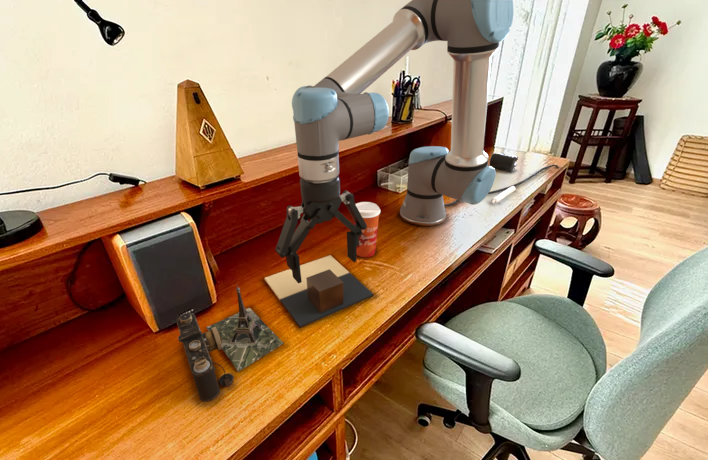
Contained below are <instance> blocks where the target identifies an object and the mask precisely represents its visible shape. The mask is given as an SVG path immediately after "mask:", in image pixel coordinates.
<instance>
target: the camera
mask: <svg viewBox="0 0 708 460" xmlns="http://www.w3.org/2000/svg"><path fill="white" fill-rule="evenodd" d="M176 325H177V328H178V332H179V335H178V336H177V339H178V342H179V343H182V346H183V349H184V353H185V356H186V359H187V362H188V365H189V369H190V372H191V375H192V378H193V381H194V384H195V387H196V390H197V394H198V398H199V399H200V401H201V402H205V403H206V402H212V401H213V400H215V399H216V398H218V396H219V395H220V392H221V389H220V386H221V387H222V388H227V387H229V386H231V385H232V384H233V383H234V379H235V378H234V375H233V374H232V373H230V372H229V373H226V370H225V367H223V366H222V365H221V364H220V363H219V364H218V363H216V362H214V361H213V359H212V358H211V355H210V353H211V352H213V351H216V350H217V352H218V351H221V350H223V349H222V339H221V336H219V335H220V333H219V331H217V329H216V327H213V328H211V330H210V331H208V330H207V331H205V332H202V330H201V327H200V325H199V322H198V319H197V317H196V315H195V314H194V313H193V312H185V313H182V314H181V315H178V317H177V318H176ZM214 365H217V366H219V367H220V368H221V369H222V370H223V373H224V374H222V375H221V376H219V378H218V379H217V375H216V368H215V366H214Z"/></svg>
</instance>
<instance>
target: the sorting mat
mask: <svg viewBox="0 0 708 460" xmlns="http://www.w3.org/2000/svg"><path fill="white" fill-rule="evenodd" d="M329 269H330V270H331V271H332V272H333V273H334V274H335V275H336V276H337V277H338V278H339V279H340V280H341V281H342V282H343V295H344V304H341V305H339V306H337V307H334V308H332V309H330V310H327V311H325V312H323V313H320V312H319V311H318V310H317V309H316V308H315V306H314V305H313V304H312V303H311V302H310V300H309V299H308V292H307V279H306V278H307V277H310V276H312V275H315V274H318V273H321V272H323V271H326V270H329ZM300 271H301V281H302V282H301V283H297V281H296V280H295V279H294V278H293V275H292V270H291V269H290V268H288V269H286V270H283V271H280V272H276V273H274V274H271V275H268V276H266V277H264V278H263V279H264V281H265V283H266V284H267V285H268V286H269V288H270V289H271V291H272V292H273V294H274V295H275V296H276V297H277V299H278V300H279V302H280V303H281V304H282V306H283V307H284V308H285V310H286V311H287V312H288V313H289V315H290V316H291V318H292V319H293V320H294V322H295V323H296V324H297V326H298V327H299V328H300V329H301V328H304V327H305V326H307V325H310V324H312V323H315V322H317V321H319V320H321V319H323V318H326V317H328V316H330V315H333V314H335V313H337V312H339V311H342V310H344V309H346V308H348V307H351V306H354V305H356V304H359V303H360V302H362V301H365V300H367V299H370V298H371V297H374V292H372V291H371V290H370V289H368V288H367V287H366V286H365V285H364V284H363V283H362V282H361V281H360V280H359V279H357V278H356V277H355V276H354V275H353V274H352V273H351V272H350V271H348V269H346V268H345V267H344V266H343V265H342V264H341V263H339V261H338V260H336V259H335V258H334V257H333V256H332V255H331V254H330V255H326V256H323V257H321V258H318V259H315V260H312V261H309V262H306V263H304V264H300Z"/></svg>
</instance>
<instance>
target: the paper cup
mask: <svg viewBox="0 0 708 460" xmlns="http://www.w3.org/2000/svg"><path fill="white" fill-rule="evenodd" d="M355 205H356V207H357V208H358V210H359V212H360V214H361V216H362V218H363V219H364V221H365V223H366V225H367V228H366V229H365V230H361V231H362V235H361V236H359V245H358V246H356V250H357V256H358V257H359V258H370V257H373V256H375V253H376V250H377V249H376V247H377V239H378V231H379V229H378V227H379V218H380V215H381V208H380V207H379V205H378V204H377V203H374V202H371V201H360V202H357V203H355ZM352 224H354V225H355V224H356V223H355V221H354V219H353V218H352Z"/></svg>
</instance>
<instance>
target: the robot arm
mask: <svg viewBox="0 0 708 460" xmlns="http://www.w3.org/2000/svg"><path fill="white" fill-rule="evenodd" d="M513 19H514V0H410V1H409V2H408V3H406V4H405V5H403V7H401V8H400V9H399V10H397V11H396V12H395V13H394V15H393V18H392V21H391V22H390V23H389V24H388V25H387V26H385V27H384V28H383V29H382V30H380V31H379V32H378V33H377V34H376V35H374V36H373V37H372V38H371V39H369V40H368V41H367V42H366V43H364V44H363V45H362V46H361V47H360V48H359V49H357V50H356V51H355V52H354V53H353V54H352V55H350V56H349V57H348V58H347V59H345V60H344V61H343V62H342V63H340V64H339V65H338V66H337V67H335V68H334V69H333V70H332V71H331V72H329V73H328V74H327V75H326V76H324V77H323V78H322V79H321V80H319V81H318V82H317V83H315V85H303V86H300V87H299V88H297V89H296V90H295V92H294V93H293V95H292V99H291V107H292V114H293V115H292V119H293V124H294V131H295V132H294V133H295V143H296V152H297V164H298V166H297V167H298V175H299V177H300V179H299V185H300V195H301V196H300V197H301V205H299V206H293V205H287V207H286V218H285V220H284V223H283V226H282V229H281V232H280V235H279V238H278V241H277V243H276V247H275V249H274V250H275V252H276V253H277V255H278V256H279V257H280V258H285V259H286V261H285V262H286V266H287V267H288V269H291V270H292V275H293V278H294V279H295V280H296V281H297V283H301V282H302V281H301V271H300V265H301V262H300V255H299V254H298V253H297V252H298V250H299V249H300V248H301V246H302V244H303V243H304V242H305V239H306V238H307V236H308V234H309V233H310V231H311V230H313V229H314V228H315V226H316V225H320V224H322V223H324V222H329V221H330V222H331V221H332V220H333V218H336V219H337V220H338V221H340V223H342V225H344V226H345V227H346V228H347V229H349V230H348V231H346V252H347V253H346V257H347V258H348V259H349V260H351V262H353V263H356V262H358V261H357V260H358V258H357V256H358V255H357V250H356V246H358V245H359V236H361V235H362V231H361V230H365V229H366V228H367V225H366V223H365V221H364V219H363V218H362V216H361V214H360V212H359V210H358V208H357V207H356V205H355V204H356V202H355V195H354V194H353V193H351V192H349V191H348V190H343V191H342V194H341V179H340V176H339V175H340V155H339V153H340V151H339V150H340V147H339V146H340V142H341V141H346V140H349V139H352V138H357V137H358V138H359V137H362V136H367V135H372V134H373V133H376V132H379V131H381V130H383V129H384V128H385V127H386V125H387V124H388V121H389V115H390V113H389V112H390V111H389V110H390V109H389V105H388V102H387V101H386V99H385V97H384V96H383V95H382V94H380V93H379V92H367V91H366V90H367V89H368V88H369V87H370V86H371V85H372V84H374V83H375V82H376V81H377V80H378V79H379V78H380V77H381V76H383V75H384V74H385V73H386V72H388V70H390V68H392V67H393V66H395V64H396V63H398V62H399V61H400V60H401V59H402V58H403V57H405V56H406V54H408V53H409V52H410V51H416V50H418V49H420V48H421V47H423V45H425V44H428V43H431V42H432V43H433V42H438V41H440V42H447V44H446V45H447V49H446V50H447V54H448V55H449V57H451V58H452V60H453V65H452V66H453V68H452V95H451V97H452V99H451V100H452V101H451V129H450V130H451V134H450V151H449V149H448V148H447V147H446V146H440V145H439V146H438V145H437V146H435V145H430V146H429V145H428V146H421V147H418V148H414V149H413V150H411V152H410V154H409V159H408V162H407V163H408V166H407V167H408V169H407V184H406V185H407V186H406V194H405V197H404V199H403V201H402V205H401V206H400V210H399V217H400V218H401V220H402V221H404V222H406V223H408V224H411V225H413V226H419V227H433V226H438V225H441V224H443V223H444V222H445V221H446V219H447V210H446V208H445V207H451V206H454V205H456V204H457V203H459V202H461V203H464V204H468V205H470V206H471V205H473V206H474V205H479V204H480V203H481V202H482V201H484V200H485V199H486V197H487V196H488V195H492V194H495V193H499V192H500V193H501V192H503V191H505V190H507V189H508V188H510V187H511V186H515V187H517V186H519V185H522V184H524V183H525V182H527V181H528V180H530V179H532V178H534V177H535V176H537V174H540V173H541V172H543V170H547V169H549V168H552V167H555V168H556V169H559V165H558V164H550V165H547V166H544V167H542V168H540V169H539V170H538V171H536V172H534V173H532V175H530V176H528V177H526V178H524V179H522V180H521V181H519V182H516V183H514V184H512V185H509V186H506V187H503V188H499V189H496V190H492V188H493V186H494V183H495V181H496V180H495V179H496V176H497V175H496V174H497V173H496V169H495V168H493V167H491V166H490V165H489V155H488V153H487V152H485V150H484V147H485V136H486V123H487V112H488V111H487V110H488V99H489V87H490V86H489V85H490V74H491V63H492V57H493V55H494V54H495V53H496V52H497V51H498V50H499V49H500V42H502V41H504V40H505V39H506V38H507V36H508V35H509V33H510V31H511V29H510V28H511V27H512V25H513ZM364 91H366V92H364ZM444 196H445V197H448V198H450V199H454V200H455V201H452V202H450V203H445V201H444V200H445V199H444ZM342 204H344V205H345V207H346V209H347V211H348V213H349V214H350V216H351V218H352V220H353V219H354V221H355V223H356V224H355V225H354V224H353V222H351V221H350V220H349V219H348V218H347V217H346V216H345V215H344V214H343V213H342V212H340V210H339V209H340V206H341V205H342ZM301 214H302V217H301ZM299 219H300V223H299V224H298V221H299Z"/></svg>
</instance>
